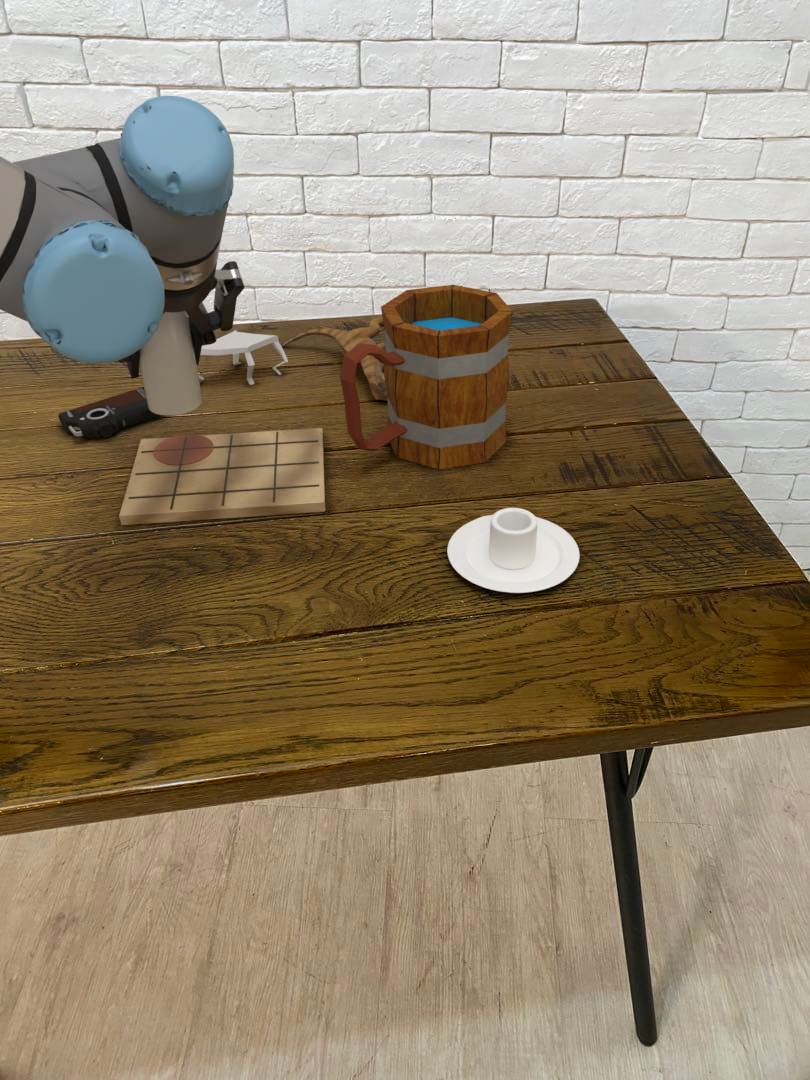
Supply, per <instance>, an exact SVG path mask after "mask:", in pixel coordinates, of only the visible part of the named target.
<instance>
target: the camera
mask: <svg viewBox="0 0 810 1080" xmlns="http://www.w3.org/2000/svg"><path fill="white" fill-rule="evenodd" d="M157 417H161V415H159V414H156V413H153V412H152V411H150V410H149V408H148V404H147V399H146V395H145V390H144V386H142V387H138V388H135V389H132V390H129V391H125V392H123V393H119V394H116V395H113V396H110V397H107V398H104V399H100V400H97V401H94V402H91V403H88V404H85V405H82V406H79V407H75V408H72V409H69V410H66V411H62V412H59V413H58V420H59V422H60V424H61V426H62V427H63V428H64V429H65V431H66V432H67V433H69V434H73V436H75V437H82V438H84V439H86V438H88V439H90V440H92V439H94V438H100V437H102V438H104V439H105V438H109V437H111V436H112V435H113V434H114V433H115V432H119V430H121V429H124V428H127V427H130V426H133V425H136V424H139V423H143V422H145V421H148V420H151V419H154V418H157Z"/></svg>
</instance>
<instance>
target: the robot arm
mask: <svg viewBox="0 0 810 1080" xmlns="http://www.w3.org/2000/svg"><path fill="white" fill-rule="evenodd" d="M234 171H235V151H234V146H233V142H232V139H231V135H230V133H229V131H228V130H227V128H226V126H225V125H224V124H223V122H222V121H221V119H220V118H219V117H218V116H217V115H216V114H215V113H214V112H213V111H212V110H210V109H209V108H207V107H206V106H204V105H203V104H201V103H199V102H198V101H195V100H193V99H190V98H187V97H183V96H178V95H159V96H156V97H155V96H154V97H152V98H148V99H147V100H144V102H143V103H141V104H140V105H138V106H137V107H136V108H134V110H133V111H132V112H131V113H129V114H128V116H127V118H126V120H125V122H124V124H123V128H122V130H121V133H120V137H118V138H113V139H109V140H104V141H99V142H96V143H94V144H92V145H87V146H83V147H79V148H75V149H69V150H65V151H60V152H55V153H50V154H46V155H41V156H37V157H36V156H35V157H32V158H31V157H30V158H27V159H23V160H18V161H13V162H11V161H10V160H8V159H6V158H4V157H2V156H1V155H0V311H3V312H5V313H7V314H10V315H11V316H13V317H16V318H18V319H20V320H22V321H25V322H27V323H28V324H29V326H30V329H31V330H33V332H34V333H35V334H36V336H38V337H40V338H41V339H42V340H43V341H44V342H45V343H47V344H49V346H50V347H52V349H54V350H55V351H56V352H58V353H60V354H61V355H63V356H64V357H67V358H69V359H72V360H73V361H77V362H81V363H84V364H85V363H86V364H108V363H113V362H118V363H119V364H122V363H126V365H127V370H128V372H129V375H130V379H131V380H133V379H138V378H140V366H139V349H141V348H142V347H143V346H144V345H145V344H146V343H147V342H148V341H149V340H150V338H151V337H152V336H153V334H154V332H155V331H156V330H157V328H158V324H159V322H160V320H161V318H162V315H163V314H164V313H165V312H171V313H175V312H183V311H186V313H187V315H188V318H189V324H190V329H191V335H192V341H193V347H194V352H195V358H196V364H197V366H199V364H200V359H201V355H200V354H201V348H202V346H204V345H210V344H213V343H215V342H216V339H217V337H216V335H215V332H214V331H216V330H219V329H220V332H228V331H231V330H232V329H233V327H234V319H235V314H236V308H237V307H236V306H237V298H238V297H239V296H240V294H241V293H242V292H243V291H244V290H245V284H244V281H243V278H242V274H241V272H240V268H239V266H238V262H237V261H235V260H229V261H227V262H225V263H224V264H223V266H222V267H221V268H217V265H218V259H219V255H220V250H221V249H220V248H221V243H222V237H223V232H224V226H225V224H226V223H225V221H226V218H227V212H228V208H229V203H230V200H231V198H232V196H233V190H234V186H235V185H234ZM212 291H214V298H213V299H214V300H213V310H212V311H210V312H208V310H207V308H206V307H205V306H206V305H204V303H203V302H204V301H205V300H206V299H207V297H209V295H210V293H211V292H212Z"/></svg>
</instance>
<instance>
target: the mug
mask: <svg viewBox="0 0 810 1080" xmlns="http://www.w3.org/2000/svg"><path fill="white" fill-rule="evenodd" d="M380 310H381V317H383V323H384V326H383V328H384V342H385V351H384V350H382V349H381V348H380V347H378V346H377V345H378V344H377V345H373V344H361V343H359V344H357V345H356V346H355V347H354V348H353V349H351V350H350V351H349V352H348V353H347V354H344V355H343V361H342V366H341V371H340V375H339V379H340V384H341V389H342V395H343V399H344V400H343V401H344V413H345V422H346V428H347V433H348V435H349V437H350V438H351V440H352V441H353V443H354V444H355V446H356V447H357V449H359V450H362V451H367V452H377V451H378V450H380V449H382V448H383V447H385V446H386V445H387V444H389V443H390V446H391V448H392V450H393V452H394V454H395V456H396V458H398V459H401V460H405V461H409V462H412V463H415V464H419V465H423V466H425V467H429V468H433V469H436V470H444V469H451V468H456V467H464V466H469V465H477V464H483V463H486V462H487V461H489V460H490V458H492V456H493V455H495V454H496V453H497V452H498V451H499V450H500V448H502V446H503V445H505V444H506V443H507V442H508V437H507V426H506V425H507V424H506V413H507V399H508V392H509V391H508V390H509V384H510V368H509V367H510V366H509V365H510V364H509V339H510V330H511V324H512V320H513V319H512V318H513V313H514V311H513V310H512V309H511V307H510V306H509V305H508V304H507V303H506V302H505V301H504V300H503V298H502V297H501V296H500V295H499V294H498V293H497V292H494V291H488V290H484V289H483V290H482V289H478V288H473V287H468V286H463V285H458V284H447V285H438V286H429V287H422V288H421V287H420V288H413V289H411V288H410V289H406V290H404V291H403V292H402V293H400V294H398V295H397V296H395V297H394V298H392V299H391V300H388V301H387V302H385V303H384V304H382V305H381V306H380ZM367 355H370V356H374V357H375V358H376V359H377V360H378V361H380V362H381V363H383V364H384V366H383V369H384V377H385V384H386V391H387V399H388V401H387V422H386V423H387V424H386V426H385V427H383V428H382V429H379V430H378V431H377V432H376V433H374V434H373V435H372V436H370V437H369V438H365V437H364V434H363V430H362V429H363V428H362V419H361V417H362V416H361V404H360V399H359V393H358V389H357V385H356V379H357V377H356V375H357V369H358V364H359V362H360V361H361V360H362V359H364V358H365V357H366V356H367Z"/></svg>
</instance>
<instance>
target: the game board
mask: <svg viewBox="0 0 810 1080" xmlns="http://www.w3.org/2000/svg"><path fill="white" fill-rule="evenodd" d="M324 446H325V445H324V428H323V427H315V428H314V427H313V428H298V429H296V428H295V429H282V430H281V429H279V430H266V431H264V430H263V431H250V432H249V431H248V432H235V433H217V434H203V435H202V434H201V435H200V434H194V433H193V434H191V433H189V434H187V433H186V434H180V435H175V436H170V437H154V438H153V437H152V438H141V439H140V442H139V444H138V449H137V451H136V455H135V459H134V462H133V466H132V469H131V472H130V475H129V480H128V483H127V487H126V490H125V494H124V497H123V500H122V504H121V507H120V511H119V514H118V517H119V520H120V521H119V522H120V525H121V526H132V525H133V526H134V525H149V524H159V523H160V524H162V523H163V524H164V523H177V522H192V521H207V520H223V519H236V518H237V519H238V518H251V517H265V516H266V517H267V516H281V515H295V514H296V515H297V514H310V513H324V512H326V511H327V510H326V479H325V478H326V475H325V474H326V473H325V452H324V451H325V450H324V449H325V447H324Z"/></svg>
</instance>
